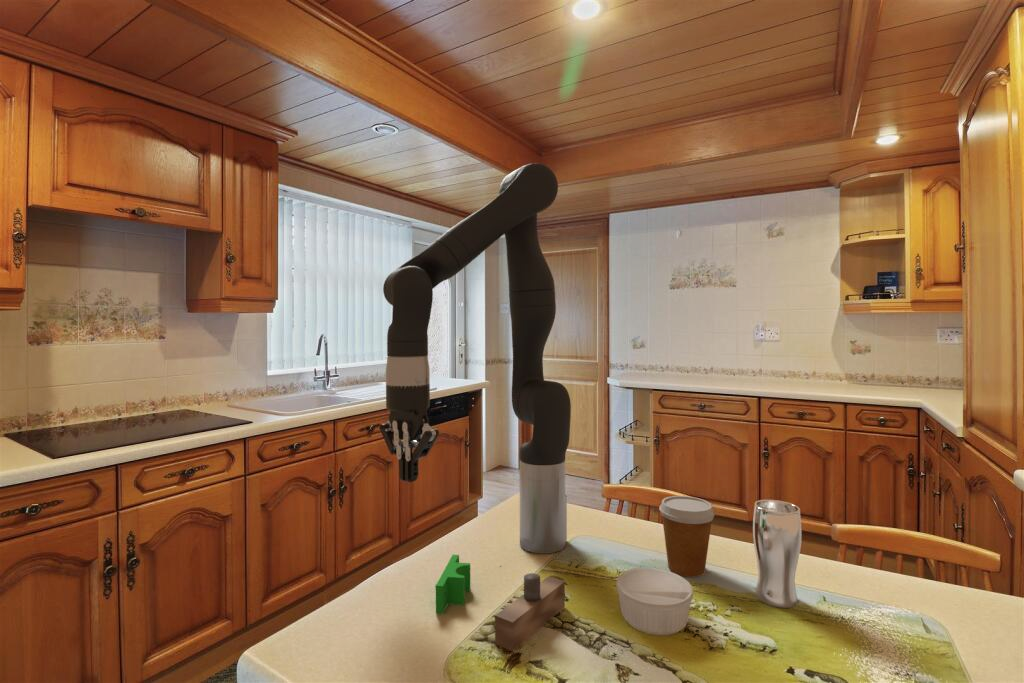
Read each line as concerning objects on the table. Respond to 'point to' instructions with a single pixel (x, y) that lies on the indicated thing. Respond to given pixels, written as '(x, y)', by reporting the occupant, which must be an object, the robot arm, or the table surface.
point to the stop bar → (529, 611)
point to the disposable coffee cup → (686, 533)
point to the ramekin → (654, 600)
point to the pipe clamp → (452, 584)
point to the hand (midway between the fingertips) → (408, 480)
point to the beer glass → (777, 551)
